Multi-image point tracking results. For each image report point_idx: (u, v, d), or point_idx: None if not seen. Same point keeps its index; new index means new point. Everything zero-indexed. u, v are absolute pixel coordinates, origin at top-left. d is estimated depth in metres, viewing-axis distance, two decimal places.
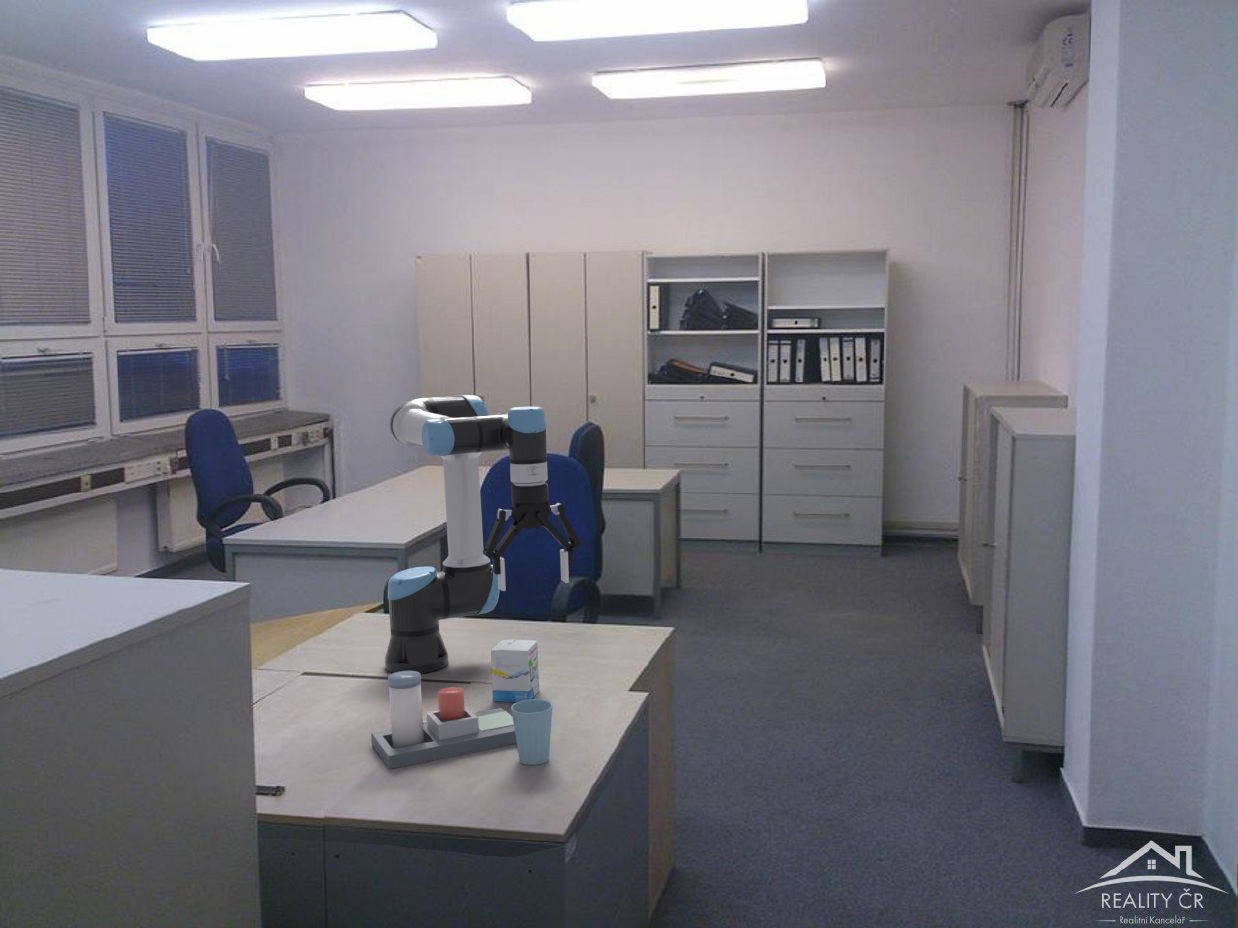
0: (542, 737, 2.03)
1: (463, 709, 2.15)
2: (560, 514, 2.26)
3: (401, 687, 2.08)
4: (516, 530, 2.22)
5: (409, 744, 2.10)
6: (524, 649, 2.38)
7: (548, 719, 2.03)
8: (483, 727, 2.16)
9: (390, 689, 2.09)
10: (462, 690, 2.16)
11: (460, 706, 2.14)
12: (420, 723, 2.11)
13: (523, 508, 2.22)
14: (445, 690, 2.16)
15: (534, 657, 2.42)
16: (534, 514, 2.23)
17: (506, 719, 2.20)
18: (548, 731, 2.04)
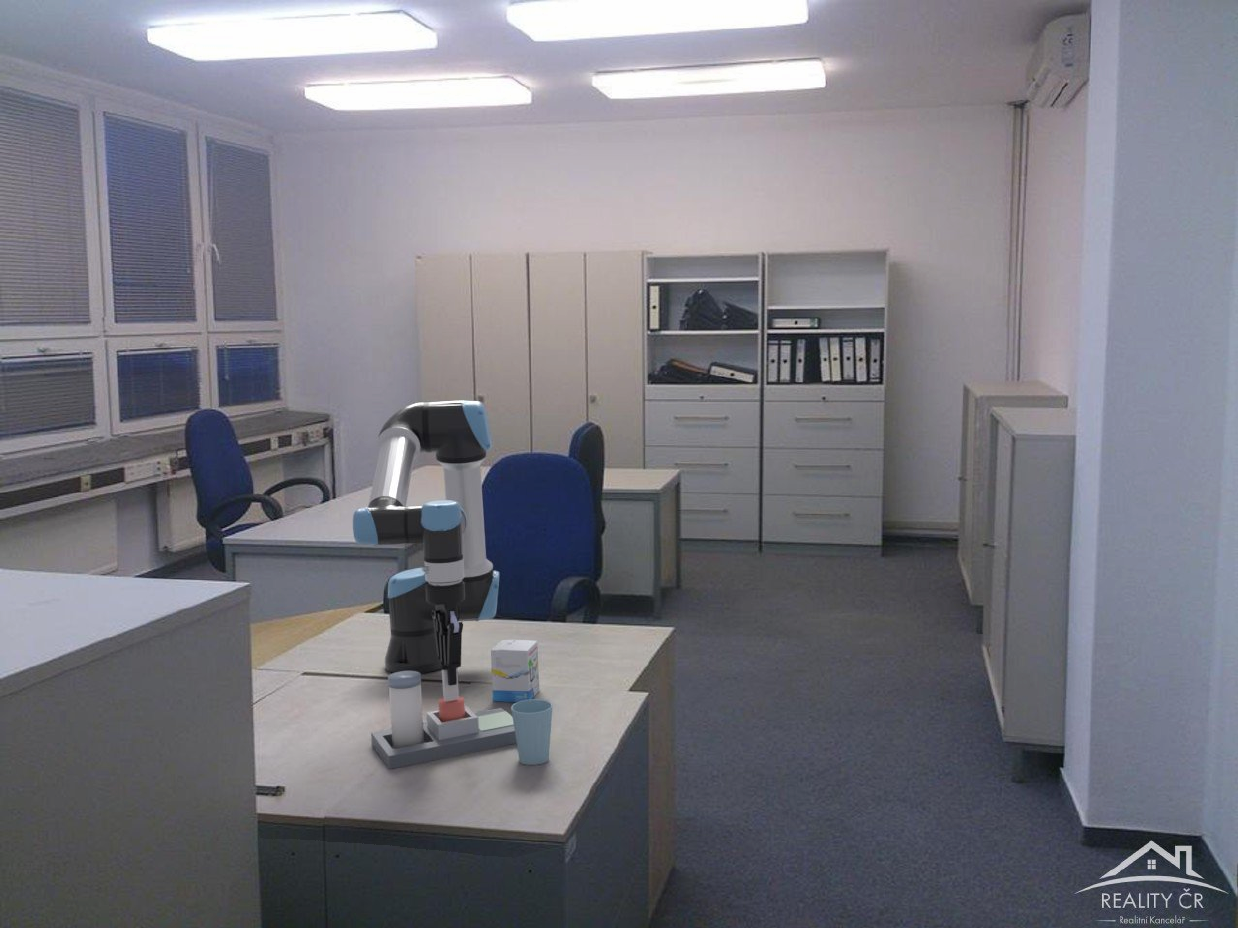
0: (542, 737, 2.03)
1: None
2: (448, 630, 2.09)
3: (401, 687, 2.08)
4: (438, 631, 2.14)
5: (409, 744, 2.10)
6: (524, 649, 2.38)
7: (548, 719, 2.03)
8: (483, 727, 2.16)
9: (390, 689, 2.09)
10: (462, 699, 2.16)
11: (460, 715, 2.14)
12: (420, 723, 2.11)
13: None
14: None
15: (534, 657, 2.42)
16: (441, 612, 2.12)
17: (506, 719, 2.20)
18: (548, 731, 2.04)
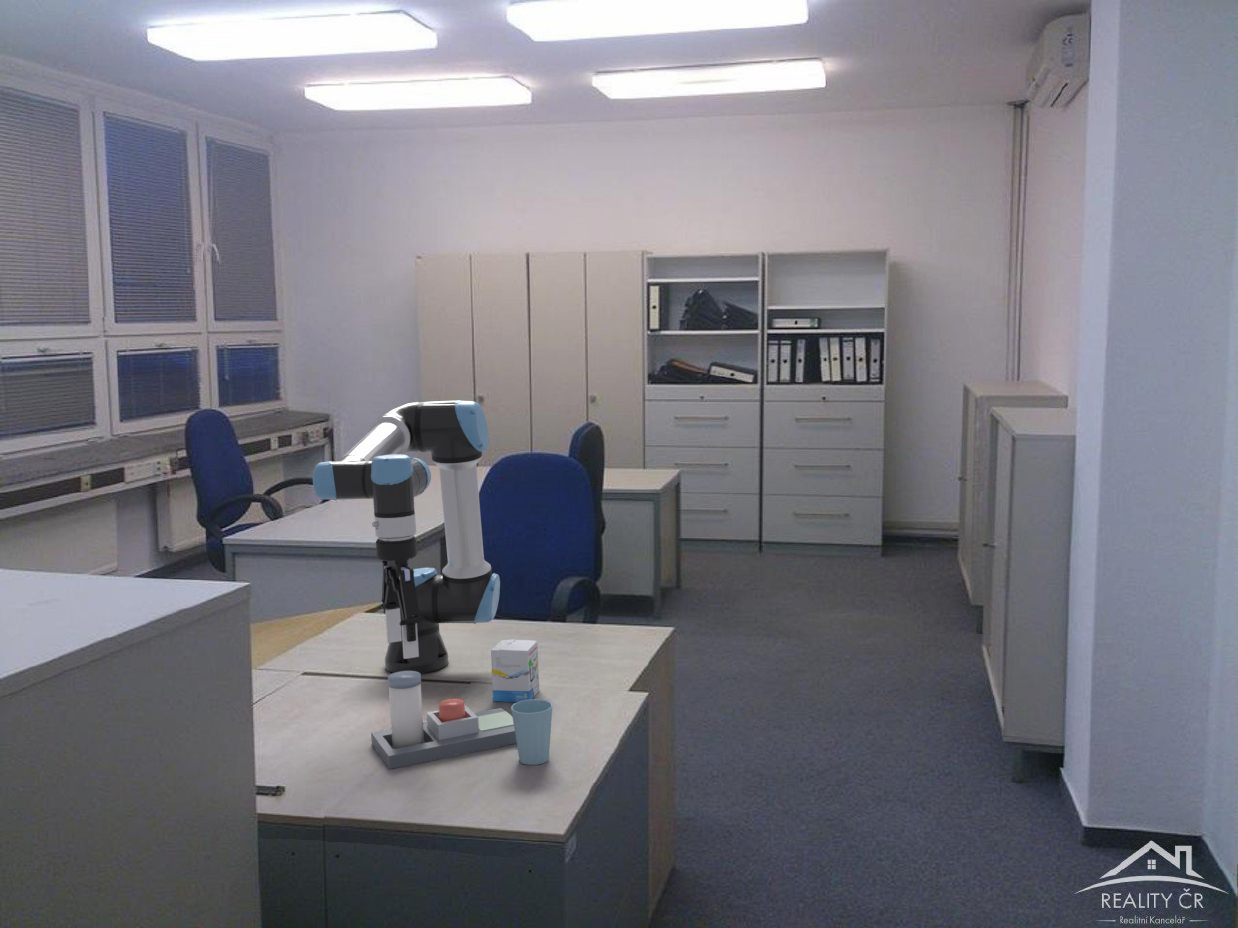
0: (542, 737, 2.03)
1: None
2: (400, 580, 2.03)
3: (401, 687, 2.08)
4: None
5: (409, 744, 2.10)
6: (524, 649, 2.38)
7: (548, 719, 2.03)
8: (483, 727, 2.16)
9: (390, 689, 2.09)
10: (463, 702, 2.16)
11: (460, 718, 2.14)
12: (420, 723, 2.11)
13: (389, 560, 2.09)
14: (445, 702, 2.16)
15: (534, 657, 2.42)
16: None
17: (506, 719, 2.20)
18: (548, 731, 2.04)
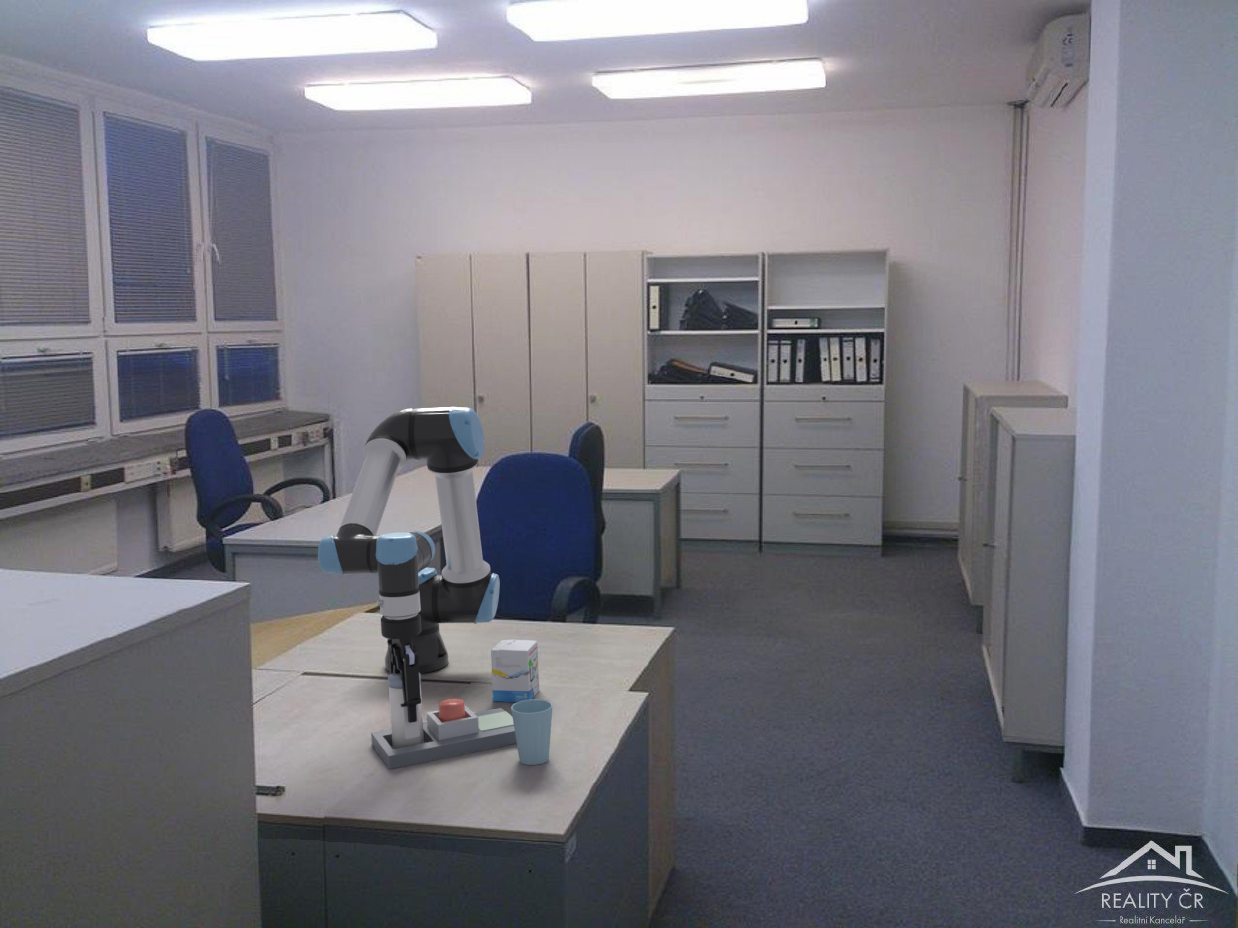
0: (542, 737, 2.03)
1: None
2: None
3: (401, 687, 2.08)
4: None
5: (409, 744, 2.10)
6: (524, 649, 2.38)
7: (548, 719, 2.03)
8: (483, 727, 2.16)
9: (390, 689, 2.09)
10: (463, 702, 2.16)
11: (460, 718, 2.14)
12: (420, 723, 2.11)
13: None
14: (445, 702, 2.16)
15: (534, 657, 2.42)
16: (397, 646, 2.09)
17: (506, 719, 2.20)
18: (548, 731, 2.04)
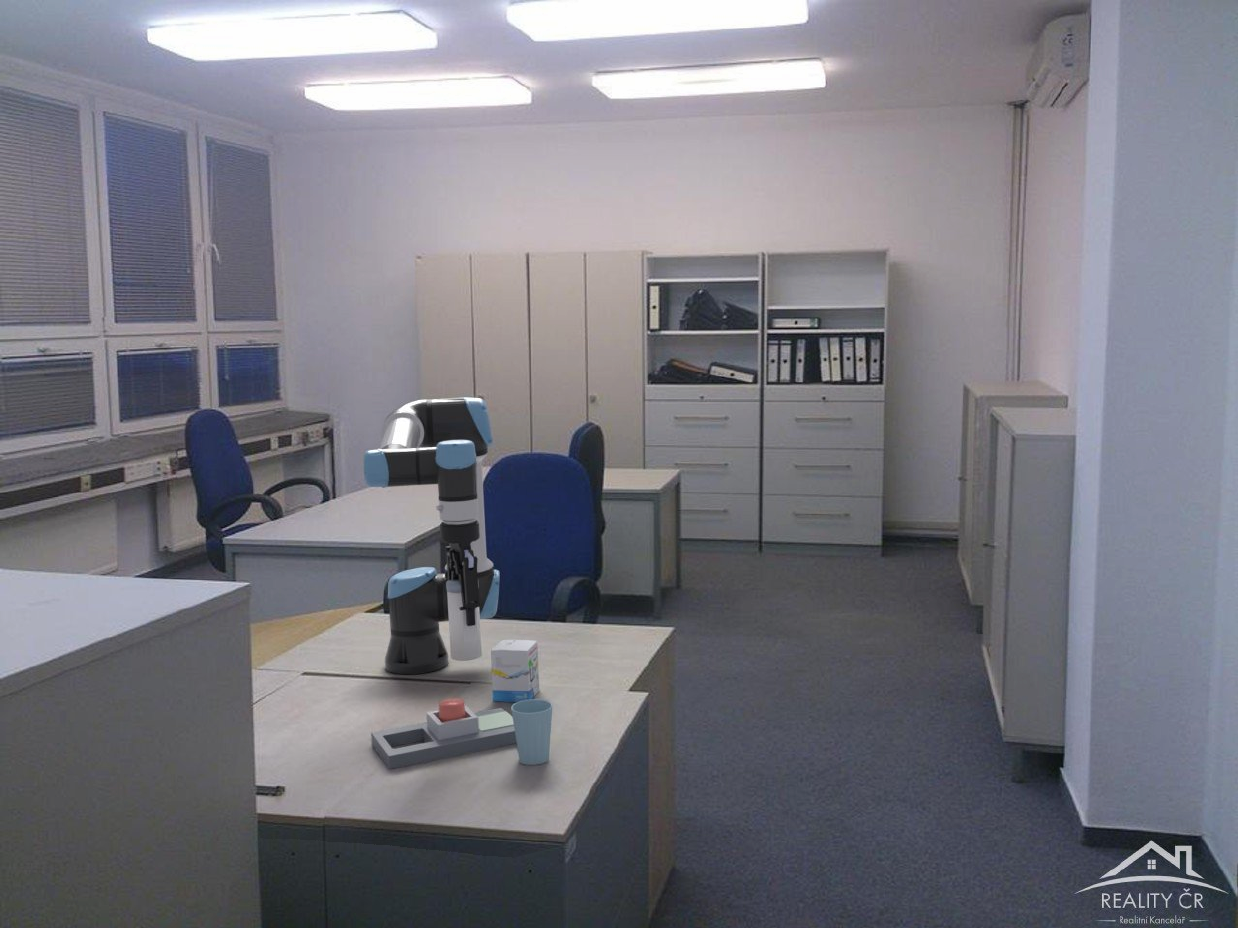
0: (542, 737, 2.03)
1: None
2: (463, 566, 2.08)
3: (459, 591, 2.11)
4: (450, 569, 2.16)
5: (467, 648, 2.13)
6: (524, 649, 2.38)
7: (548, 719, 2.03)
8: (483, 727, 2.16)
9: (448, 594, 2.13)
10: (463, 702, 2.16)
11: (460, 718, 2.14)
12: (478, 628, 2.14)
13: None
14: (445, 702, 2.16)
15: (534, 657, 2.42)
16: (455, 552, 2.13)
17: (506, 719, 2.20)
18: (548, 731, 2.04)
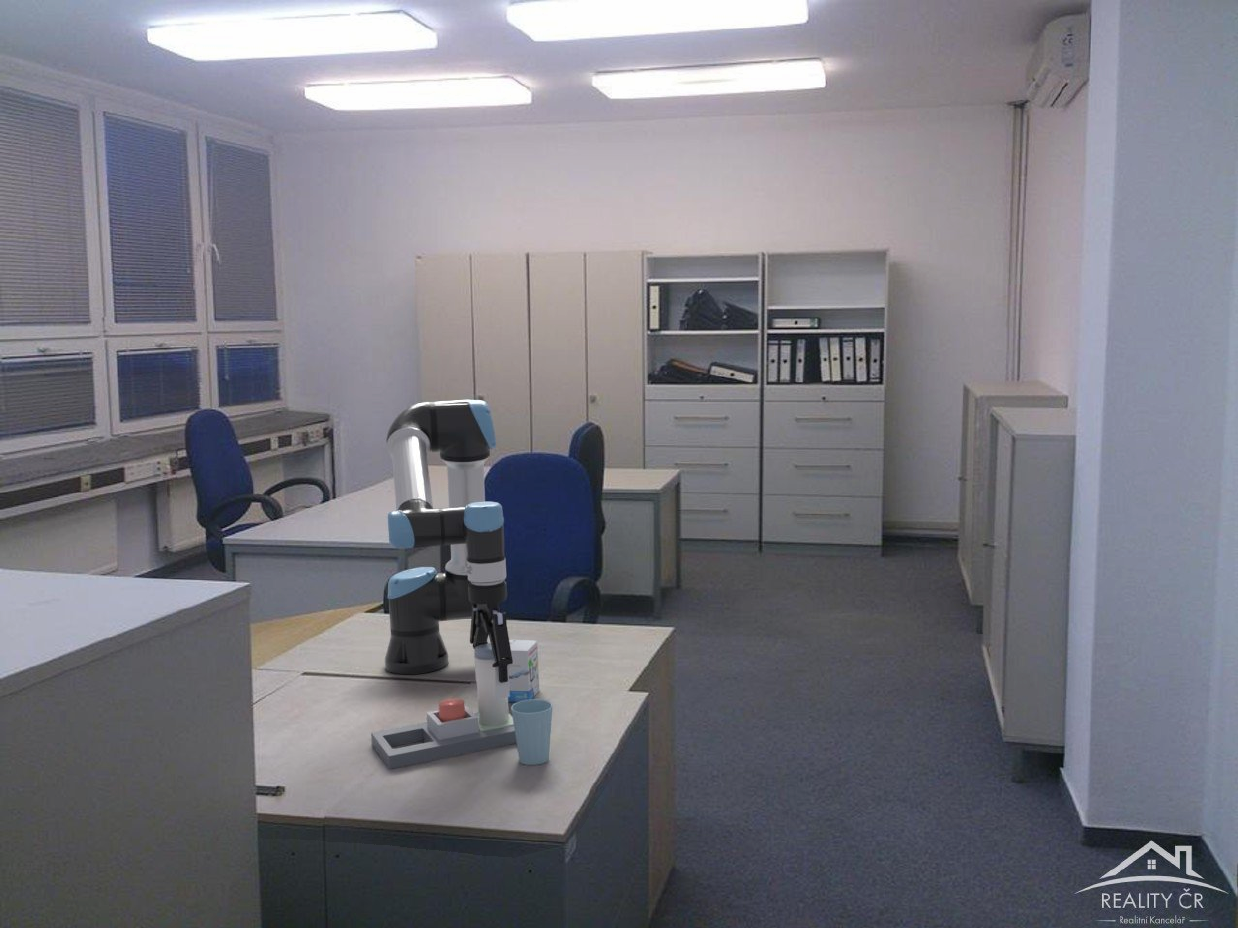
0: (542, 737, 2.03)
1: None
2: (493, 624, 2.12)
3: (488, 658, 2.15)
4: None
5: (495, 713, 2.17)
6: (524, 649, 2.38)
7: (548, 719, 2.03)
8: (483, 727, 2.16)
9: (477, 660, 2.17)
10: (463, 702, 2.16)
11: (460, 718, 2.14)
12: None
13: None
14: (445, 702, 2.16)
15: (534, 657, 2.42)
16: None
17: None
18: (548, 731, 2.04)
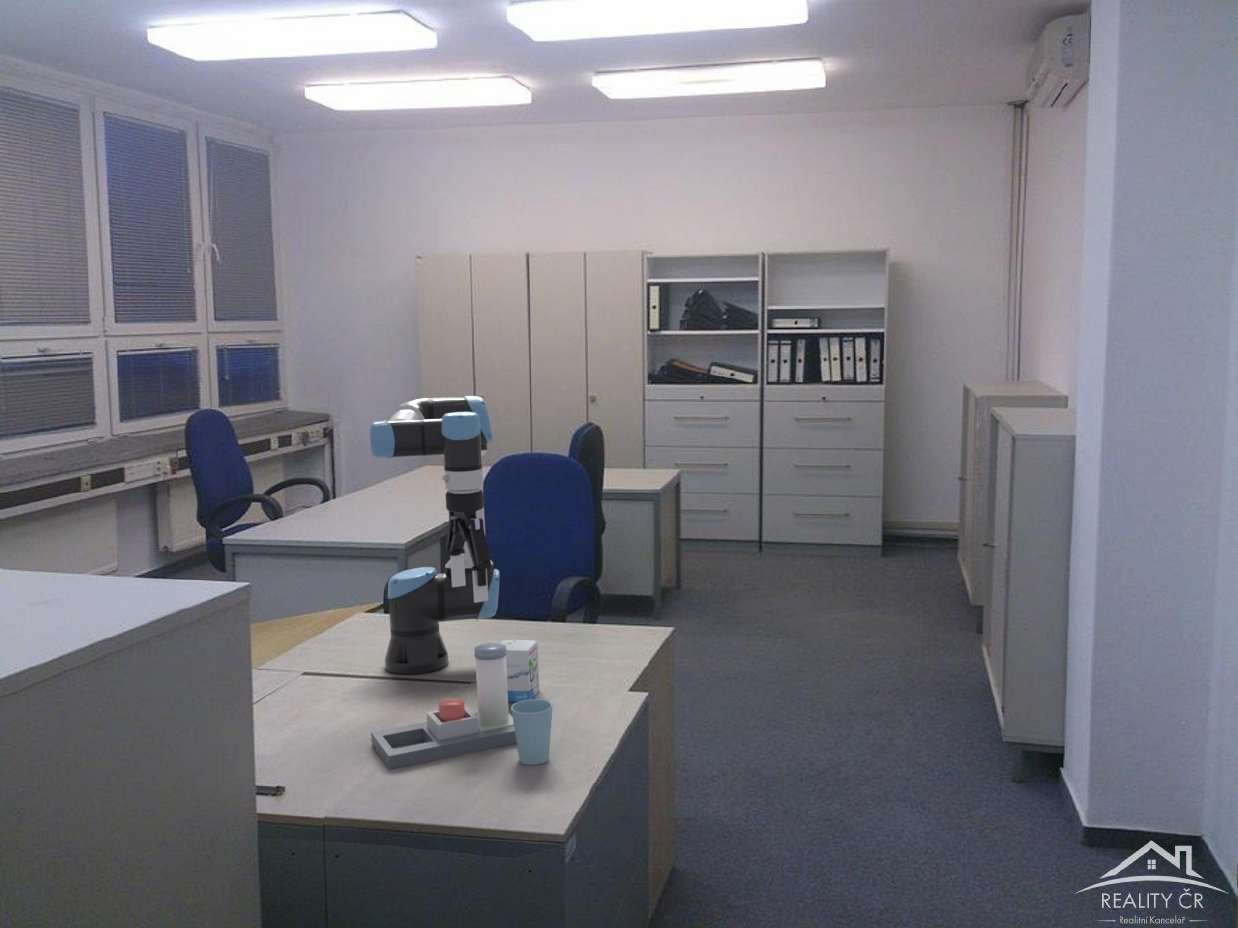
0: (542, 737, 2.03)
1: None
2: (470, 529, 2.15)
3: (488, 658, 2.15)
4: None
5: (495, 713, 2.17)
6: (524, 649, 2.38)
7: (548, 719, 2.03)
8: (483, 727, 2.16)
9: (477, 660, 2.17)
10: (463, 702, 2.16)
11: (460, 718, 2.14)
12: (505, 693, 2.18)
13: (457, 513, 2.21)
14: (445, 702, 2.16)
15: (534, 657, 2.42)
16: None
17: None
18: (548, 731, 2.04)
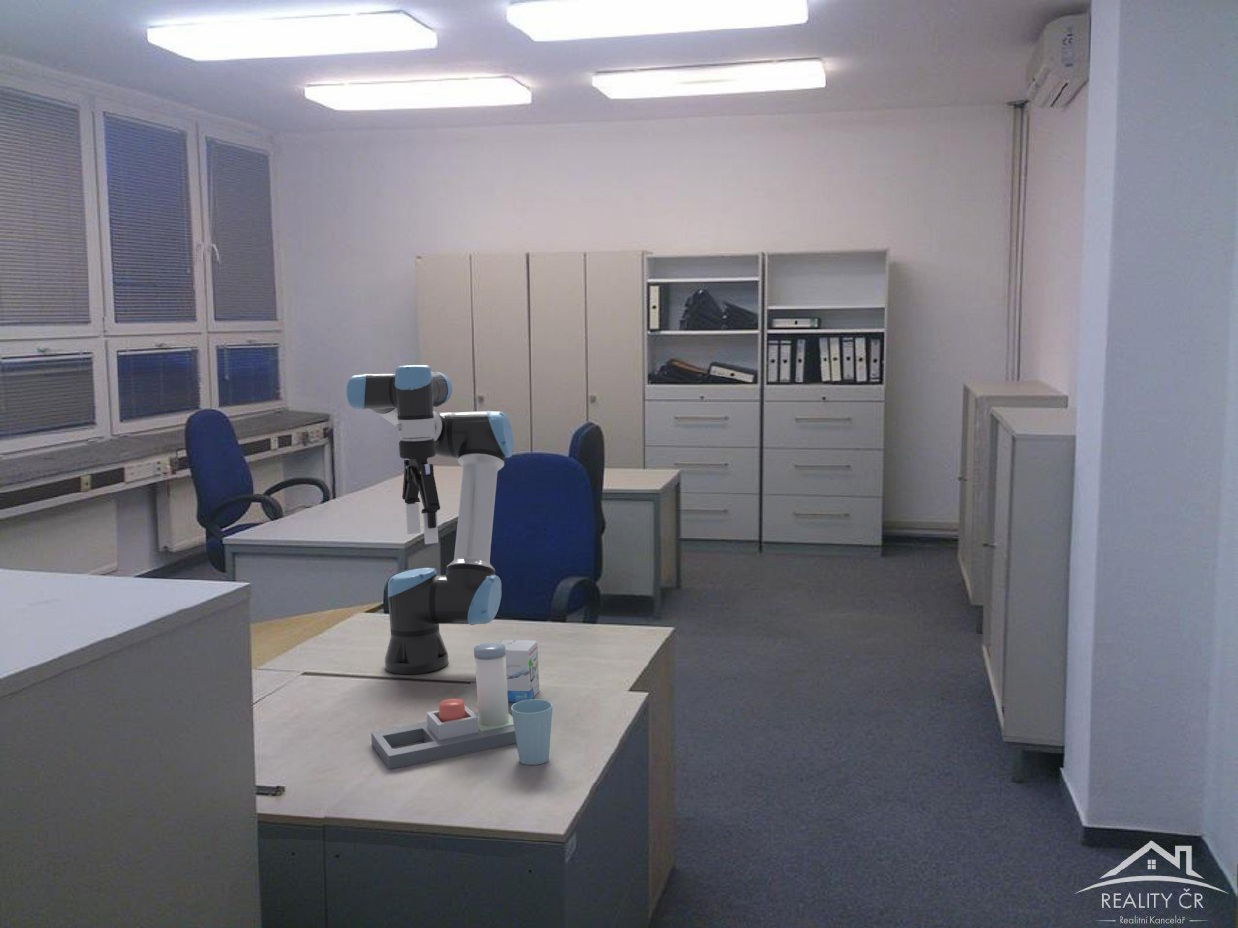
0: (542, 737, 2.03)
1: None
2: (421, 474, 2.27)
3: (488, 658, 2.15)
4: None
5: (495, 713, 2.17)
6: (524, 649, 2.38)
7: (548, 719, 2.03)
8: (483, 727, 2.16)
9: (476, 660, 2.17)
10: (463, 702, 2.16)
11: (460, 718, 2.14)
12: (505, 693, 2.18)
13: (410, 461, 2.33)
14: (445, 702, 2.16)
15: (534, 657, 2.42)
16: None
17: None
18: (548, 731, 2.04)
